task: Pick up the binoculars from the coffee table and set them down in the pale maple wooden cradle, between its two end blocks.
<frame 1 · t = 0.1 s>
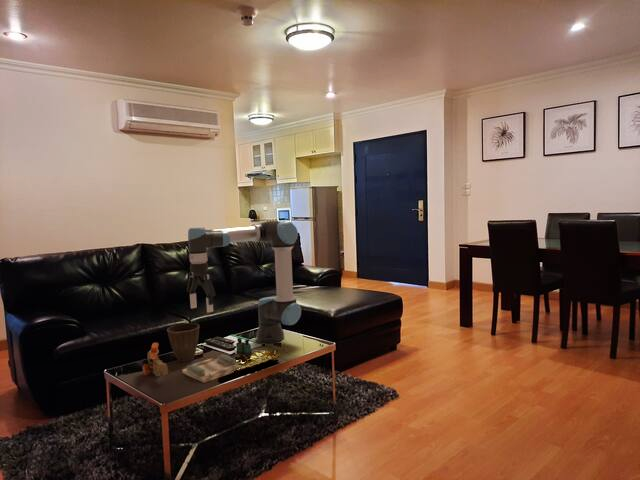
hand: (201, 309, 197), 28 cm above the table, tool pointing down, fingers open, 13 cm apart
plant pot: (185, 360, 215), on the table
binoculars: (241, 362, 208), on the table
toy helicopter: (158, 377, 194), on the table
cradle: (211, 371, 198), on the table
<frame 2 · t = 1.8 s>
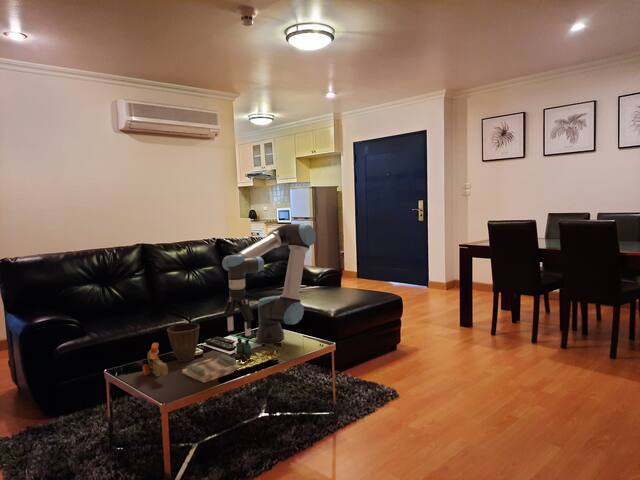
hand: (239, 332, 207), 14 cm above the table, tool pointing down, fingers open, 13 cm apart
nothing on the table moved.
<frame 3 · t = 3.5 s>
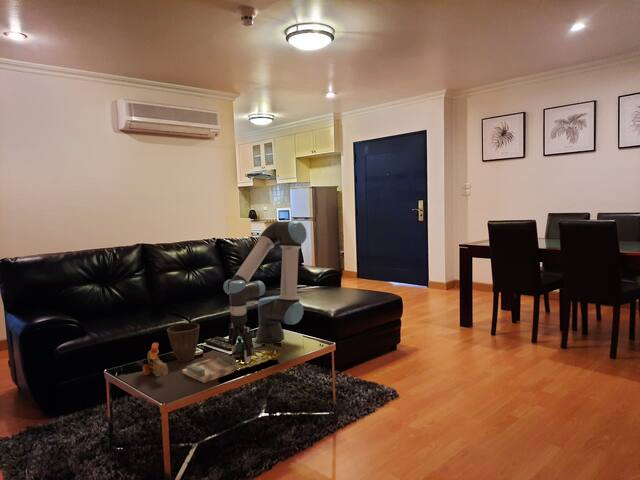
hand: (241, 360, 208), 1 cm above the table, tool pointing down, fingers closed on binoculars, 9 cm apart
binoculars: (241, 362, 208), on the table, touching gripper
everything else where it was.
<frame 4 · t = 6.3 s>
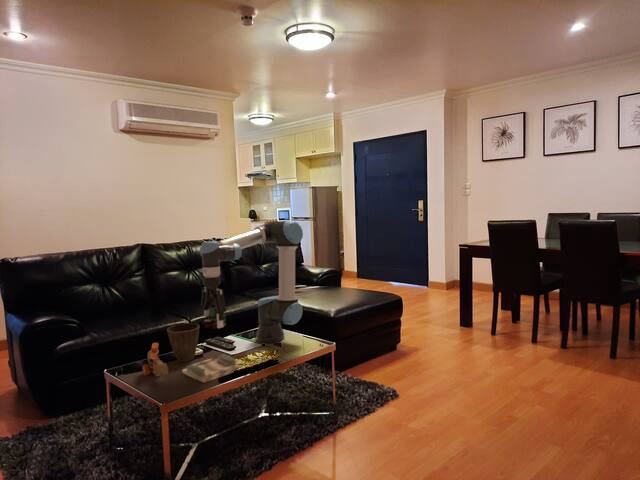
hand: (214, 325, 198), 20 cm above the table, tool pointing down, fingers closed on binoculars, 9 cm apart
binoculars: (214, 327, 198), point 19 cm above the table, touching gripper
everything else where it was.
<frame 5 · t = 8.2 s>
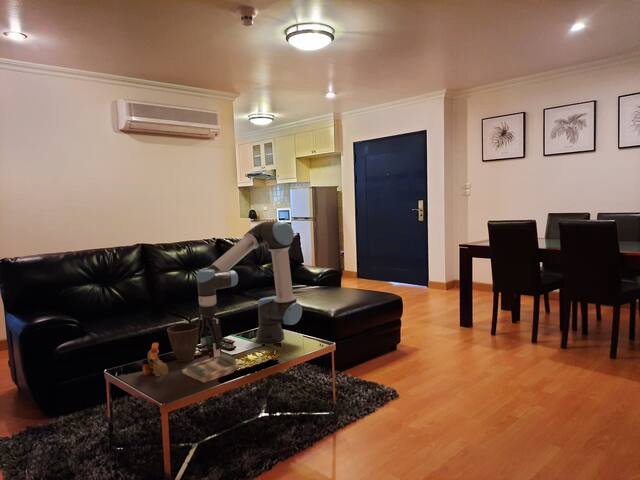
hand: (210, 354, 197), 8 cm above the table, tool pointing down, fingers closed on binoculars, 9 cm apart
binoculars: (210, 355, 197), point 7 cm above the table, touching gripper
everything else where it was.
when the fingers open (4 cm above the table, at t = 9.4 s): binoculars drops 2 cm, resting on cradle.
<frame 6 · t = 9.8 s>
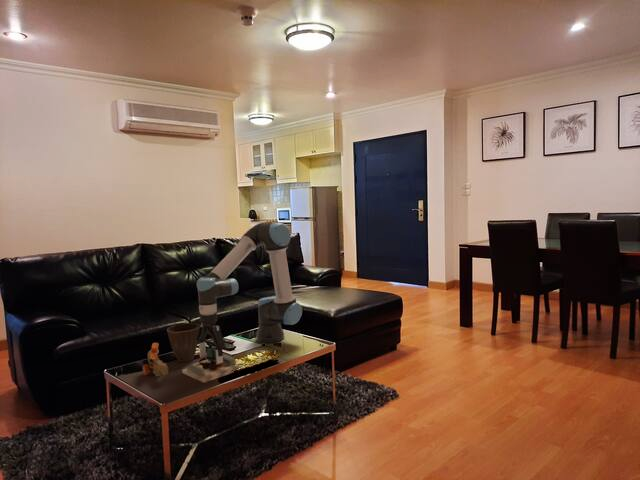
hand: (211, 359, 198), 5 cm above the table, tool pointing down, fingers open, 13 cm apart
binoculars: (211, 368, 198), point 1 cm above the table, touching cradle
everything else where it was.
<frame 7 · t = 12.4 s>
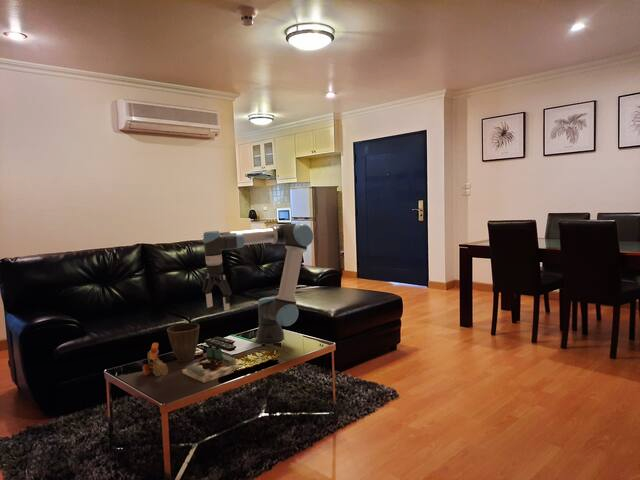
hand: (218, 308, 209), 25 cm above the table, tool pointing down, fingers open, 13 cm apart
nothing on the table moved.
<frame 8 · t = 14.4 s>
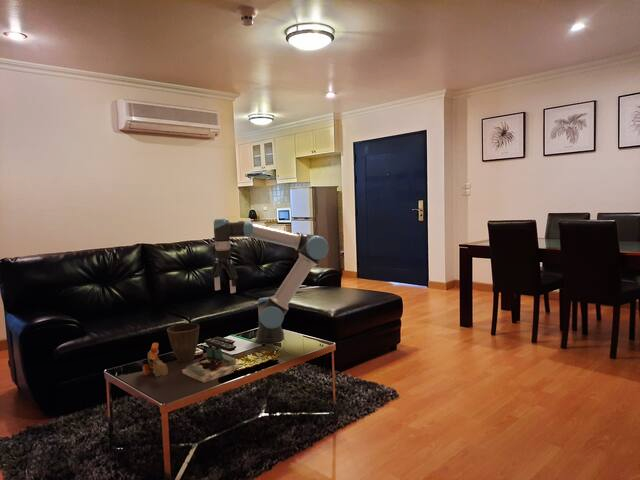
hand: (225, 291, 223), 31 cm above the table, tool pointing down, fingers open, 13 cm apart
nothing on the table moved.
at the end: binoculars 0.1 cm off-centre on the cradle, point 1.3 cm above the cradle's base; binoculars tilted 0°; the gripper is holding nothing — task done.
